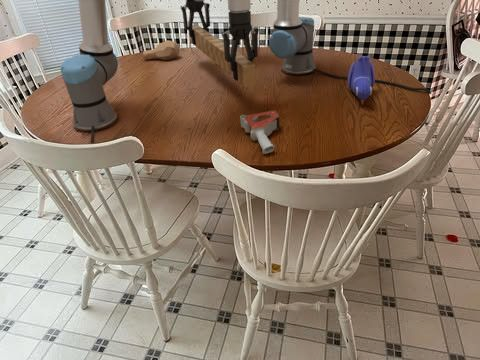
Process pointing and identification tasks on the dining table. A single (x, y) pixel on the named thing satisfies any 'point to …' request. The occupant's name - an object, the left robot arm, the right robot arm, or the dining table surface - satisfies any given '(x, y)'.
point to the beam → (216, 53)
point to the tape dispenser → (261, 128)
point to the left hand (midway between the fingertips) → (242, 77)
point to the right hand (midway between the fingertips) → (199, 43)
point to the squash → (163, 51)
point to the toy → (361, 78)
